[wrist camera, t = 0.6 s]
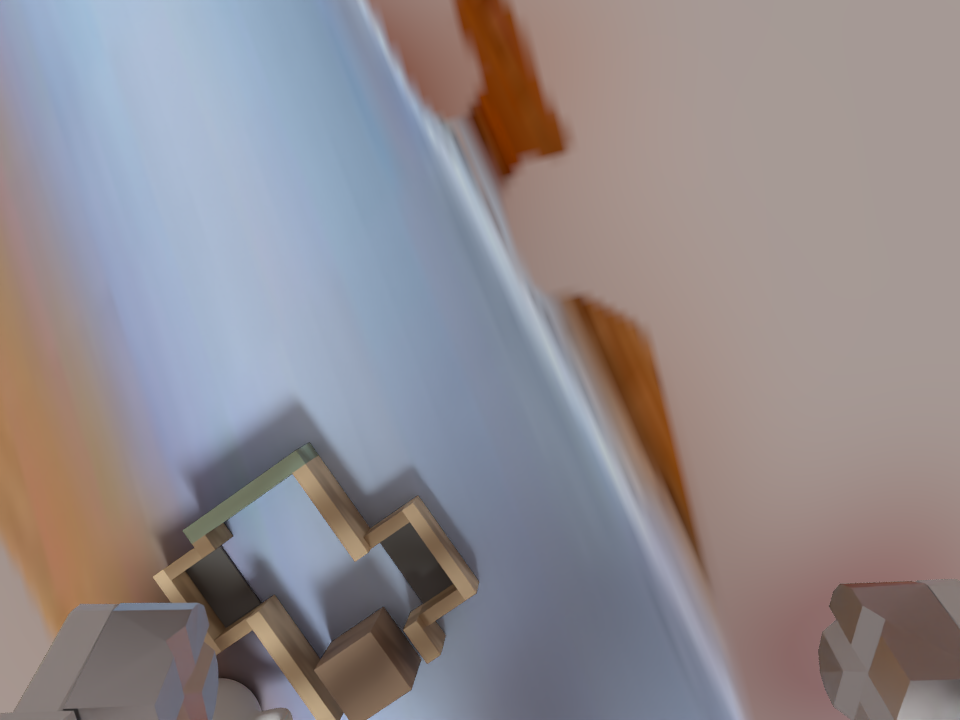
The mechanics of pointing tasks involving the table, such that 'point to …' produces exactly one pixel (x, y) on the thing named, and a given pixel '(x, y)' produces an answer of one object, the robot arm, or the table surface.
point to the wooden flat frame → (401, 534)
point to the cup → (242, 704)
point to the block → (369, 666)
